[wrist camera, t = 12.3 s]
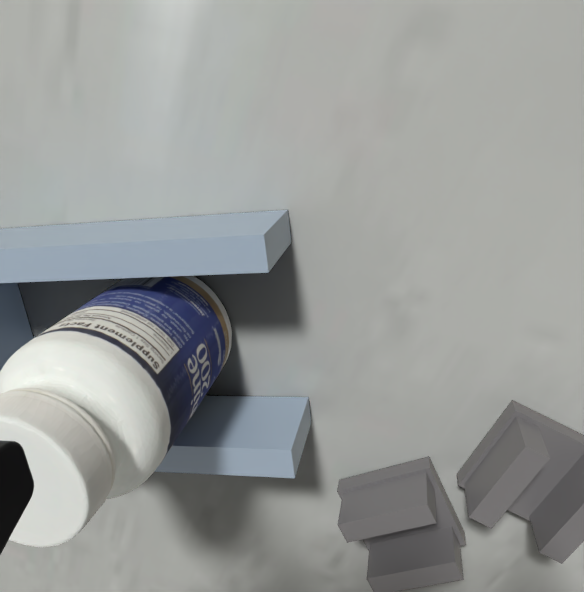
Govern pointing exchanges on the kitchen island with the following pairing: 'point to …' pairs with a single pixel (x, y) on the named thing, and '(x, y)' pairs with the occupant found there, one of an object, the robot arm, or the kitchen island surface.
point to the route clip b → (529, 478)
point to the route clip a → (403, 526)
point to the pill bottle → (108, 396)
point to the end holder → (163, 263)
